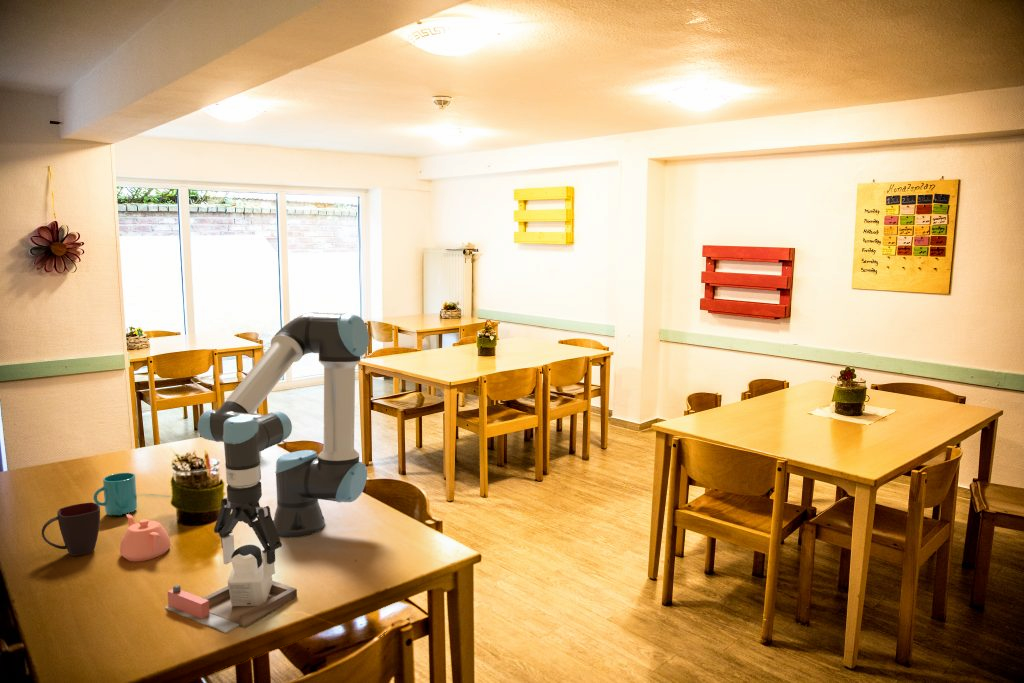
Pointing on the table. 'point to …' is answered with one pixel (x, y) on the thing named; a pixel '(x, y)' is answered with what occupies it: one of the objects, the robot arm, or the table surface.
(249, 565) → the container
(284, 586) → the brown tray
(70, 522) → the mug
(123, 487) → the cup
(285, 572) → the table surface
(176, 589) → the bar
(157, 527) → the teapot
